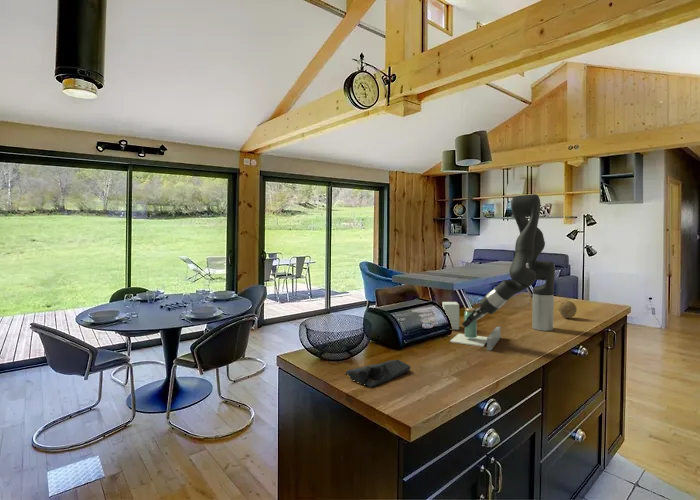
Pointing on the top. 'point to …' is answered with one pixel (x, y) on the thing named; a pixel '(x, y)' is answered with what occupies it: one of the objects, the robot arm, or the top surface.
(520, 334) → the top surface
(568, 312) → the natural sponge
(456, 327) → the supplement box
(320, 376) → the top surface
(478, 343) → the rubber mat
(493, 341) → the low wall
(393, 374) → the dark slate chunk
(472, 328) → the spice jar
